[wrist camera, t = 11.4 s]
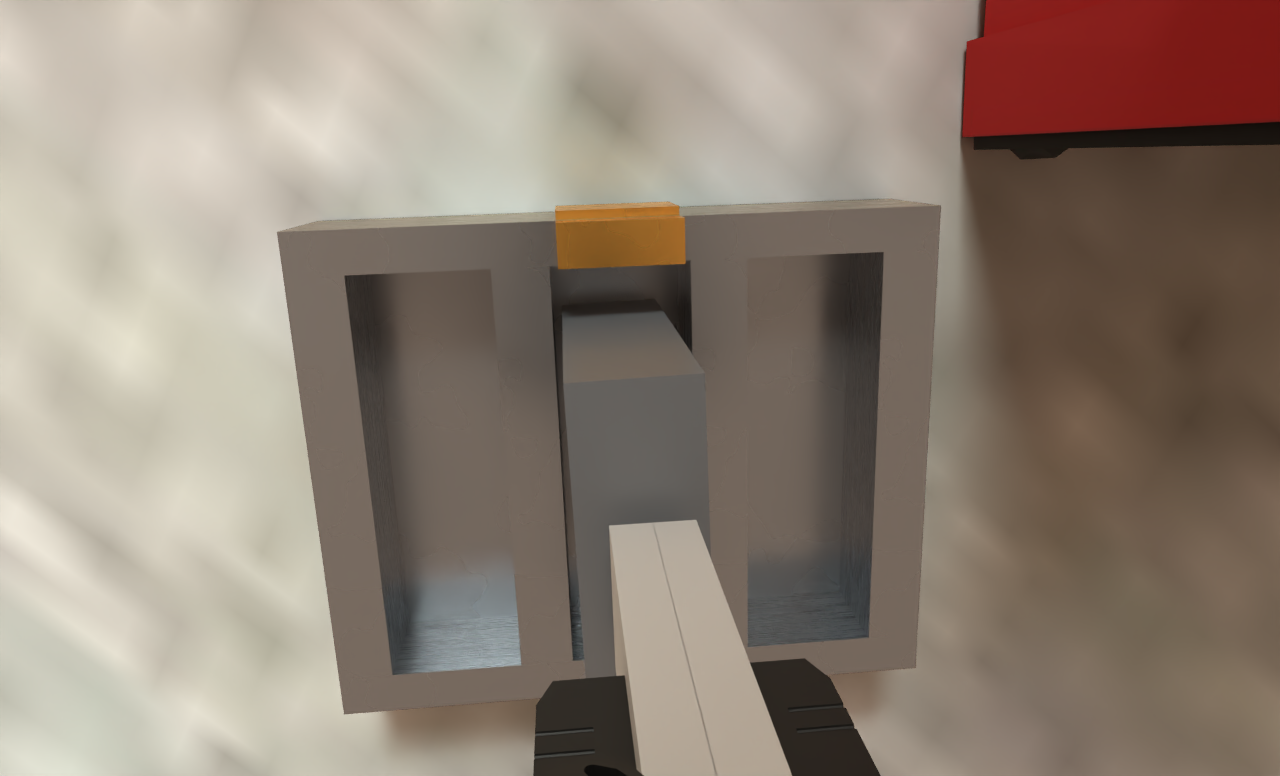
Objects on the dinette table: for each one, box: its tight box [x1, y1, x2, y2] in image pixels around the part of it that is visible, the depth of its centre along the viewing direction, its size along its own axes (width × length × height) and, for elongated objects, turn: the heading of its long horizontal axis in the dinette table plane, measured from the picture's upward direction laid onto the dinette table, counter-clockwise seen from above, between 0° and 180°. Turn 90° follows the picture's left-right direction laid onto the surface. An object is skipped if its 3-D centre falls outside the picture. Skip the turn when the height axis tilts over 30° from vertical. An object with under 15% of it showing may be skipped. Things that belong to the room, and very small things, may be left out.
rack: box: [277, 199, 941, 714], centre depth 22 cm, size 12×15×4 cm
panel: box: [562, 299, 711, 678], centre depth 20 cm, size 8×2×8 cm, turn 3°
